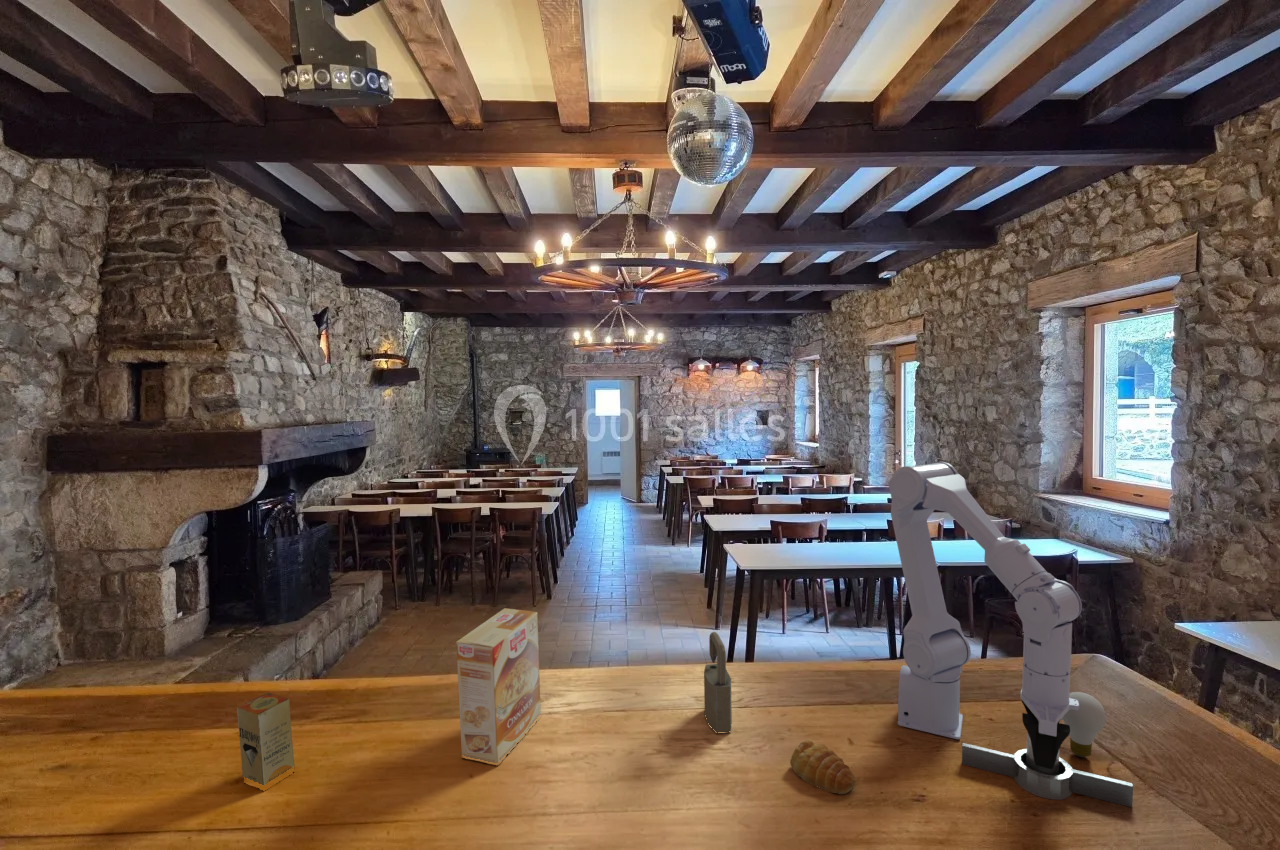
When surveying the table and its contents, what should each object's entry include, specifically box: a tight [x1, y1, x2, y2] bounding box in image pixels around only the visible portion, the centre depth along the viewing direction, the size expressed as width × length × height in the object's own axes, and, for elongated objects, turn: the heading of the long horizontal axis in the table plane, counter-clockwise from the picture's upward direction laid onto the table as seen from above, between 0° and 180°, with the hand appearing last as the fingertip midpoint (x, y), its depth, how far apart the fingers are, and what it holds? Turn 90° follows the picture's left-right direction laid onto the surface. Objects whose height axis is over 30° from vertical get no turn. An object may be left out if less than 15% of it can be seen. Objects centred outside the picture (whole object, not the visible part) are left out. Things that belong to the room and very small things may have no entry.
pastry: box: [789, 740, 856, 795], centre depth 96 cm, size 9×7×4 cm
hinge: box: [961, 742, 1134, 808], centre depth 93 cm, size 21×7×3 cm, turn 60°
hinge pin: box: [1026, 731, 1061, 776], centre depth 93 cm, size 4×4×7 cm
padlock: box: [703, 631, 733, 733], centre depth 111 cm, size 4×8×15 cm, turn 6°
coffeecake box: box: [455, 607, 542, 763], centre depth 107 cm, size 15×7×20 cm, turn 161°
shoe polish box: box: [236, 692, 295, 785], centre depth 98 cm, size 5×5×12 cm
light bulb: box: [1061, 691, 1107, 759], centre depth 99 cm, size 6×6×10 cm
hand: (1043, 757), depth 93 cm, fingers closed on hinge pin, 4 cm apart
